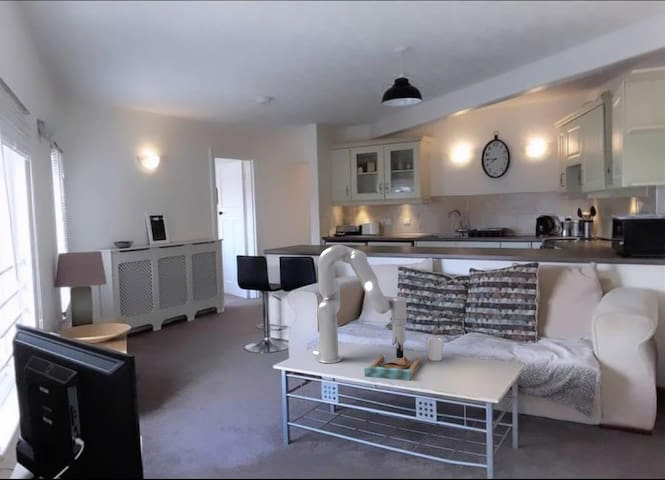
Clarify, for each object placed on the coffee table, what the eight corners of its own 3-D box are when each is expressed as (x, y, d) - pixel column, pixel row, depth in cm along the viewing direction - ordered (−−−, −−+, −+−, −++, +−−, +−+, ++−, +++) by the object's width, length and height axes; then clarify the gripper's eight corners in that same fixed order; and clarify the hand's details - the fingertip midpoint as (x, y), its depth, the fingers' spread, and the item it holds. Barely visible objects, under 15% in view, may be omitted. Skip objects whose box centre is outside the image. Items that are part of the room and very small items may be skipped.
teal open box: (364, 376, 228) (364, 367, 228) (380, 360, 253) (380, 352, 253) (409, 380, 220) (409, 371, 220) (421, 363, 245) (421, 355, 245)
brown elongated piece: (394, 374, 229) (388, 361, 231) (385, 379, 233) (379, 366, 235) (418, 365, 241) (412, 353, 243) (408, 370, 245) (402, 358, 248)
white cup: (443, 361, 247) (443, 341, 246) (427, 361, 248) (427, 341, 248) (443, 357, 255) (442, 337, 254) (427, 356, 256) (427, 337, 256)
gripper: (395, 318, 255) (396, 353, 256) (387, 324, 242) (388, 361, 242) (409, 319, 252) (410, 354, 253) (402, 325, 239) (403, 362, 239)
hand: (400, 357), depth 248 cm, fingers closed
